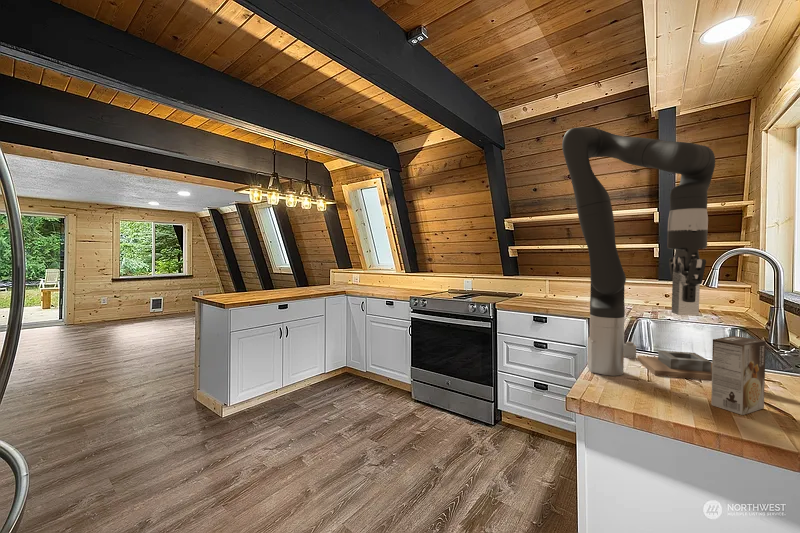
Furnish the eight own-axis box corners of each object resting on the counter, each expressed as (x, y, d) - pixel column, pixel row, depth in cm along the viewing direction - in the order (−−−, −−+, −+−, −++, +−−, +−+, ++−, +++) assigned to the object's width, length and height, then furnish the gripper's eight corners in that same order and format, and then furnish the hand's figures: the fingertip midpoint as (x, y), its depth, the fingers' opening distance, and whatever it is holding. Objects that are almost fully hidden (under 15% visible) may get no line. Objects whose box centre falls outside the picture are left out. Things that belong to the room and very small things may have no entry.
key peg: (678, 314, 87) (679, 272, 87) (671, 312, 91) (672, 272, 90) (698, 315, 86) (700, 273, 85) (690, 313, 90) (692, 272, 89)
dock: (654, 375, 109) (655, 360, 109) (637, 360, 124) (637, 346, 124) (737, 382, 103) (737, 366, 103) (708, 365, 118) (708, 351, 118)
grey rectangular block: (636, 357, 128) (636, 334, 127) (635, 358, 126) (636, 335, 126) (612, 354, 132) (613, 332, 131) (612, 355, 130) (612, 332, 130)
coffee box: (731, 398, 91) (733, 335, 91) (764, 408, 86) (767, 340, 85) (709, 405, 88) (711, 338, 87) (743, 416, 82) (746, 344, 81)
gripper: (657, 231, 95) (655, 296, 96) (681, 227, 82) (679, 304, 83) (692, 230, 93) (689, 297, 94) (722, 227, 80) (719, 305, 80)
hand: (684, 300), depth 88 cm, fingers closed on key peg, 4 cm apart
